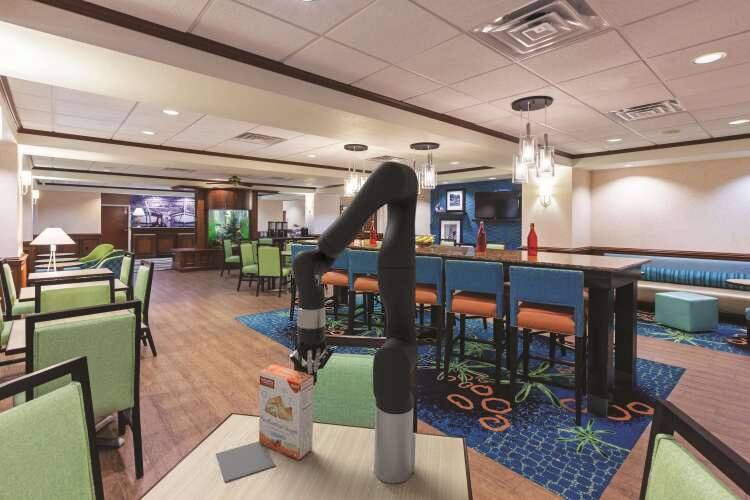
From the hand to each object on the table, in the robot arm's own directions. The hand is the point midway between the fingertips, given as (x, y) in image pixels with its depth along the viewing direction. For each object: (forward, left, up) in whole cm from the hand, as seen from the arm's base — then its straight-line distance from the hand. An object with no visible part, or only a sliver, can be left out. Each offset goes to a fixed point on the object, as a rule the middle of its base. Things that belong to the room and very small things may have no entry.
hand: (311, 384), depth 107 cm
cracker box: (+7, 0, -16) cm, 18 cm away
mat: (+18, 0, -16) cm, 24 cm away
